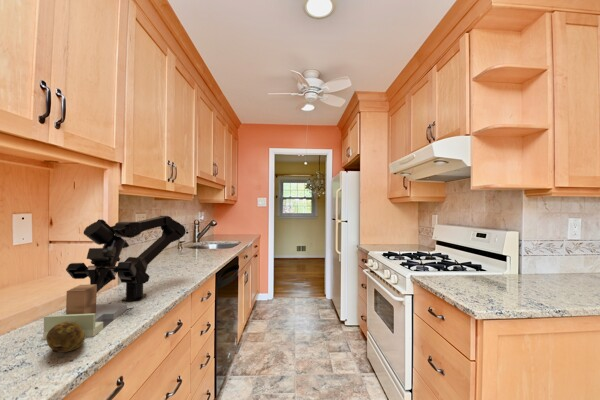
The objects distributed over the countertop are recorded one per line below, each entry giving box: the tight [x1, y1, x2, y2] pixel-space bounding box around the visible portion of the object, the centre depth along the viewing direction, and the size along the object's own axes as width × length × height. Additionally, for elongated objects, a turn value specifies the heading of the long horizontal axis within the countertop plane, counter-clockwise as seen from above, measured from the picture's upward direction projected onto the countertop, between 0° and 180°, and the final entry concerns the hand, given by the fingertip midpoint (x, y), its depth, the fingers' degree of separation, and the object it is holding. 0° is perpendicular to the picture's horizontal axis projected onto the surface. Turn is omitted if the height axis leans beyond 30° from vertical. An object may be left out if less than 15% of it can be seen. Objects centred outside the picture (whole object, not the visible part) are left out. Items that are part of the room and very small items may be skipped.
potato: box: [45, 322, 86, 354], centre depth 68 cm, size 8×13×8 cm, turn 16°
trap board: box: [43, 302, 128, 341], centre depth 84 cm, size 20×12×6 cm, turn 9°
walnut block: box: [65, 284, 98, 315], centre depth 80 cm, size 6×4×10 cm
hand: (92, 294), depth 85 cm, fingers closed
